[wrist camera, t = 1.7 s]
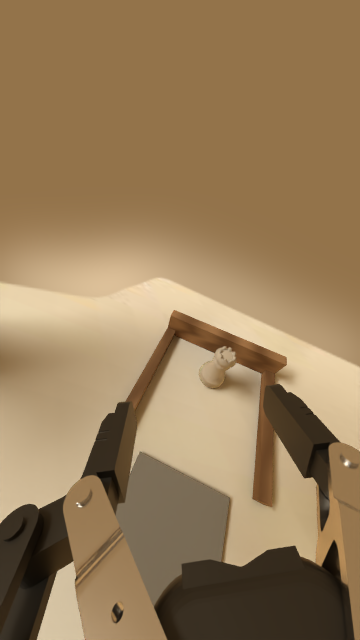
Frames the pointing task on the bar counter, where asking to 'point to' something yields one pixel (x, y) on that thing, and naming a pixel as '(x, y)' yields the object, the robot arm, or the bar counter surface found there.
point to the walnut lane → (245, 355)
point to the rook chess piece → (217, 367)
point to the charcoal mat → (169, 522)
